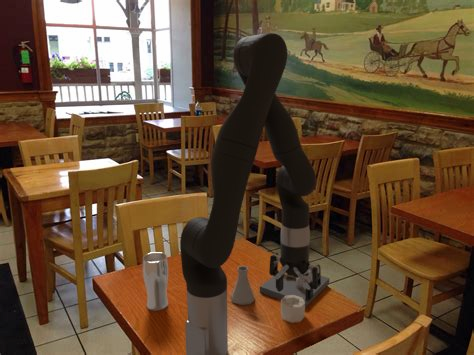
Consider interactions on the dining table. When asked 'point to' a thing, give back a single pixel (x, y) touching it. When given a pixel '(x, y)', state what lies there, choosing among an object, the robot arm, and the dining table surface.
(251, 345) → the dining table surface
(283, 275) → the brass gear
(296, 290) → the board
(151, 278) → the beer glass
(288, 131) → the robot arm
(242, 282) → the flask
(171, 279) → the dining table surface
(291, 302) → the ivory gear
